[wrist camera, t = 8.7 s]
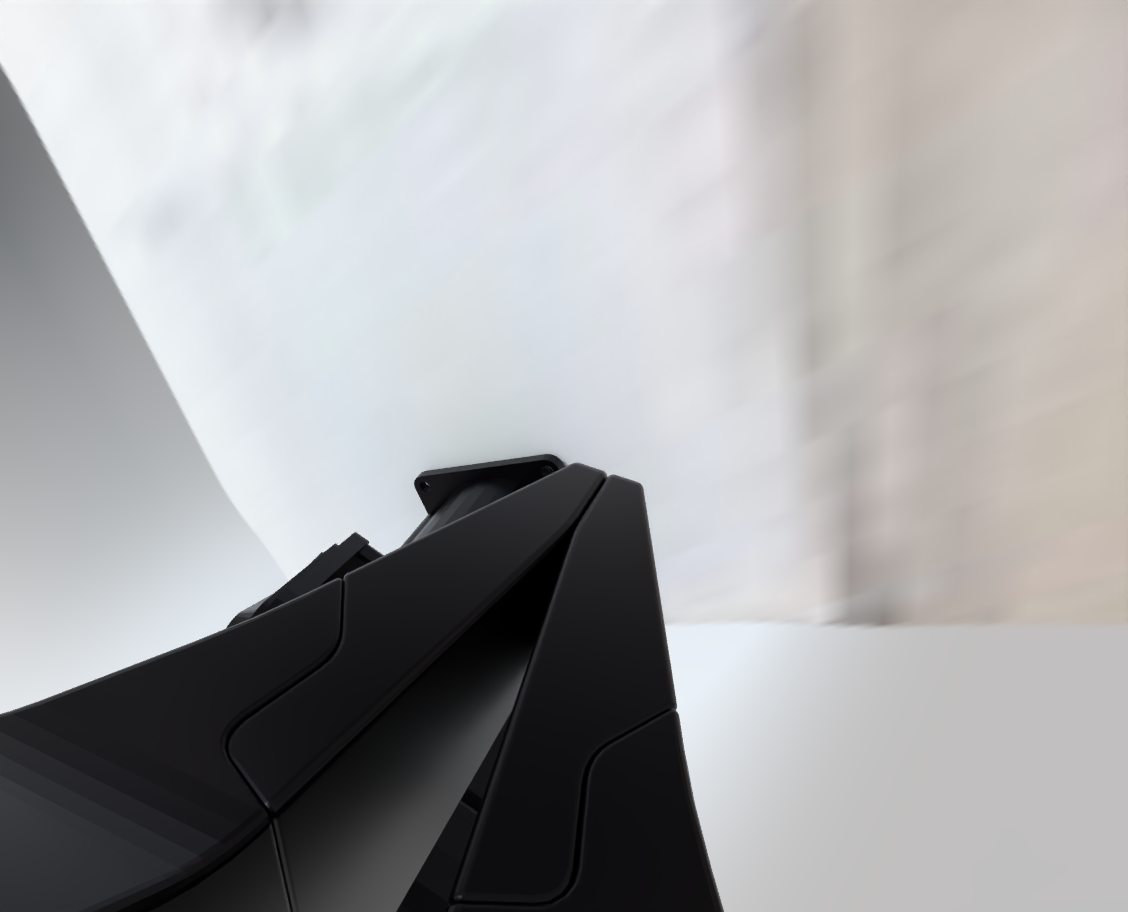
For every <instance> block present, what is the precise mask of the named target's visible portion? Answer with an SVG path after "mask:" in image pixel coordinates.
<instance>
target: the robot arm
mask: <svg viewBox="0 0 1128 912" xmlns="http://www.w3.org/2000/svg"><path fill="white" fill-rule="evenodd" d="M545 466H549V467H551V468H552V469H553V471H554V472H550V471H548V470H547V469H546V468H545ZM425 482H426V483H428V484H429V485H430V486H431V487H430V486H428V485H427V484H426V483H425ZM414 485H415V489H416V491H417V493H418V495H419V497H420V499H421V501H422V503H423V505H424V507H425V509H426V511H427V513H428V516H427V517H426V518H425V519H424V520H423V522H422V523H421V524H420V525H419V526H418V527H417V529H416V530H415V531H414V532H413V533H412V535H411V536H410V537H409V538H408V539H407V540H406V542H405V543H404V544H403V545H402V546H401V547H400V548H399V549H397V550H395V551H393V552H390V553H388V554H386V555H382V554H381V553H379V552H378V551H377V550H375V549H374V548H372V547H371V546H370V545H368V544H369V541H368V540H366V539H365V538H363V537H362V536H360V535H359V534H358V533H356V532H355V533H353V534H352V535H351V536H350V537H349V538H347V539H346V540H345V541H344V542H342V543H341V544H340V545H337V544H334V545H333V546H331V547H330V548H329V549H328V550H327V551H325V552H324V553H322V552H321V553H320V554H319V555H318V556H317V557H316V558H315V559H314V560H313V561H312V562H311V563H310V564H309V565H308V566H307V567H306V568H305V569H303V570H302V571H301V572H300V573H298V574H297V575H296V576H295V577H294V578H292V579H291V580H290V581H289V582H287V583H286V584H285V585H284V586H282V587H281V588H280V589H279V590H278V591H276V592H275V593H274V594H272V595H270V596H269V597H267V598H265V599H263V600H261V601H259V602H258V603H256V604H254V605H252V606H251V607H249V608H247V609H245V610H244V611H242V612H240V613H239V614H238V615H237V616H235V618H233V620H232V621H231V622H230V624H229V625H228V626H227V628H226V629H224V630H222V631H219V632H217V633H214V634H212V635H209V636H207V637H204V638H202V639H199V640H197V641H195V642H192V643H190V644H187V645H184V646H182V647H179V648H176V649H174V650H171V651H169V652H166V653H163V654H161V655H158V656H156V657H153V658H150V659H148V660H146V661H143V662H140V663H137V664H135V665H132V666H130V667H127V668H124V669H122V670H119V671H117V672H114V673H111V674H109V675H106V676H104V677H101V678H98V679H96V680H93V681H91V682H88V683H85V684H83V685H80V686H78V687H75V688H72V689H70V690H67V691H64V692H62V693H59V694H57V695H54V696H51V697H49V698H46V699H44V700H41V701H39V702H36V703H33V704H30V705H27V706H24V707H21V708H18V709H15V710H13V711H10V712H6V713H2V714H0V912H724V910H723V907H722V903H721V900H720V896H719V893H718V889H717V886H716V883H715V879H714V876H713V872H712V869H711V865H710V861H709V857H708V853H707V849H706V846H705V842H704V838H703V834H702V830H701V826H700V823H699V818H698V815H697V811H696V807H695V803H694V798H693V792H692V787H691V782H690V777H689V772H688V766H687V761H686V756H685V751H684V745H683V738H682V732H681V726H680V719H679V715H678V713H677V712H676V708H677V703H676V696H675V690H674V684H673V677H672V670H671V664H670V658H669V651H668V645H667V638H666V632H665V625H664V619H663V612H662V606H661V599H660V593H659V586H658V580H657V573H656V567H655V561H654V554H653V548H652V541H651V535H650V528H649V522H648V515H647V509H646V503H645V496H644V490H643V487H642V485H641V484H640V483H638V482H635V481H632V480H629V479H626V478H623V477H620V476H617V475H609V476H608V477H607V474H606V473H605V472H604V471H602V470H599V469H596V468H593V467H590V466H587V465H584V464H581V463H573V464H571V465H568V466H566V467H564V465H563V463H562V461H561V460H560V459H559V458H558V457H557V456H554V455H552V454H544V455H537V456H530V457H522V458H515V459H508V460H501V461H494V462H487V463H480V464H473V465H465V466H458V467H451V468H444V469H437V470H430V471H424V472H422V473H421V474H420V475H419V476H418V477H417V478H416V479H415V481H414Z"/></svg>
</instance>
